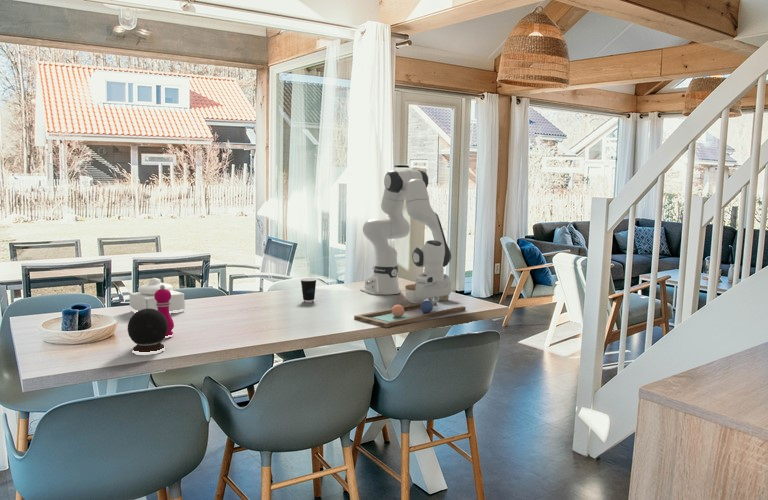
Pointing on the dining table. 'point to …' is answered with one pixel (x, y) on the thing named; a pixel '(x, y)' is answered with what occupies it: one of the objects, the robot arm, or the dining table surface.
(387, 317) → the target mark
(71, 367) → the dining table surface
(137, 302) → the butter dish
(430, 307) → the blue ball
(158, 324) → the black ball on stand
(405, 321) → the guard rails
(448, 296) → the flower pot
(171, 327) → the pepper mill
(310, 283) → the dixie cup
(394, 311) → the coral ball
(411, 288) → the lidded jar
